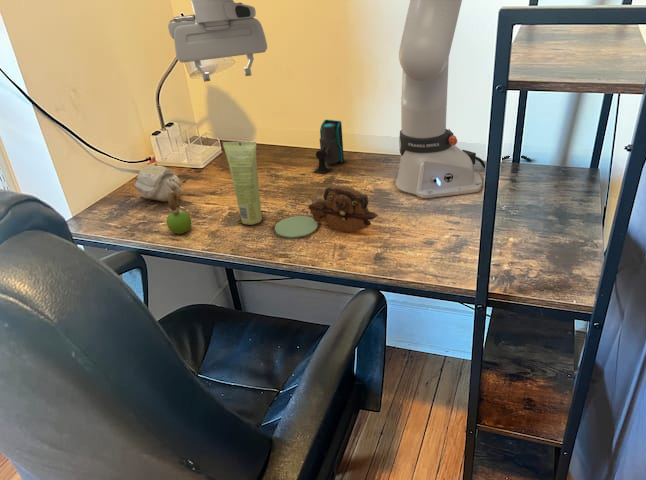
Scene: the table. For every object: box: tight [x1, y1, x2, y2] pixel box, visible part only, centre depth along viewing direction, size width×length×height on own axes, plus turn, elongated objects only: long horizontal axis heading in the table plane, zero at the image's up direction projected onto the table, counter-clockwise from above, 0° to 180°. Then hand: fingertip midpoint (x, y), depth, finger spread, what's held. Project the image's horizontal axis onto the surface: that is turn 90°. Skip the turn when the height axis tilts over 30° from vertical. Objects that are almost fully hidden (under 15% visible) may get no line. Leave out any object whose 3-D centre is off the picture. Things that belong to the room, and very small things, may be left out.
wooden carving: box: [307, 185, 379, 233], centre depth 119 cm, size 16×5×10 cm, turn 70°
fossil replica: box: [134, 163, 182, 203], centre depth 140 cm, size 12×8×10 cm
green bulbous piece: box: [166, 179, 192, 235], centre depth 122 cm, size 5×6×12 cm
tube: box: [222, 141, 263, 226], centre depth 123 cm, size 6×5×20 cm
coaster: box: [274, 215, 319, 239], centre depth 124 cm, size 10×10×1 cm
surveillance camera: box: [313, 119, 345, 175], centre depth 151 cm, size 6×12×10 cm
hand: (227, 78), depth 124 cm, fingers open, 8 cm apart
